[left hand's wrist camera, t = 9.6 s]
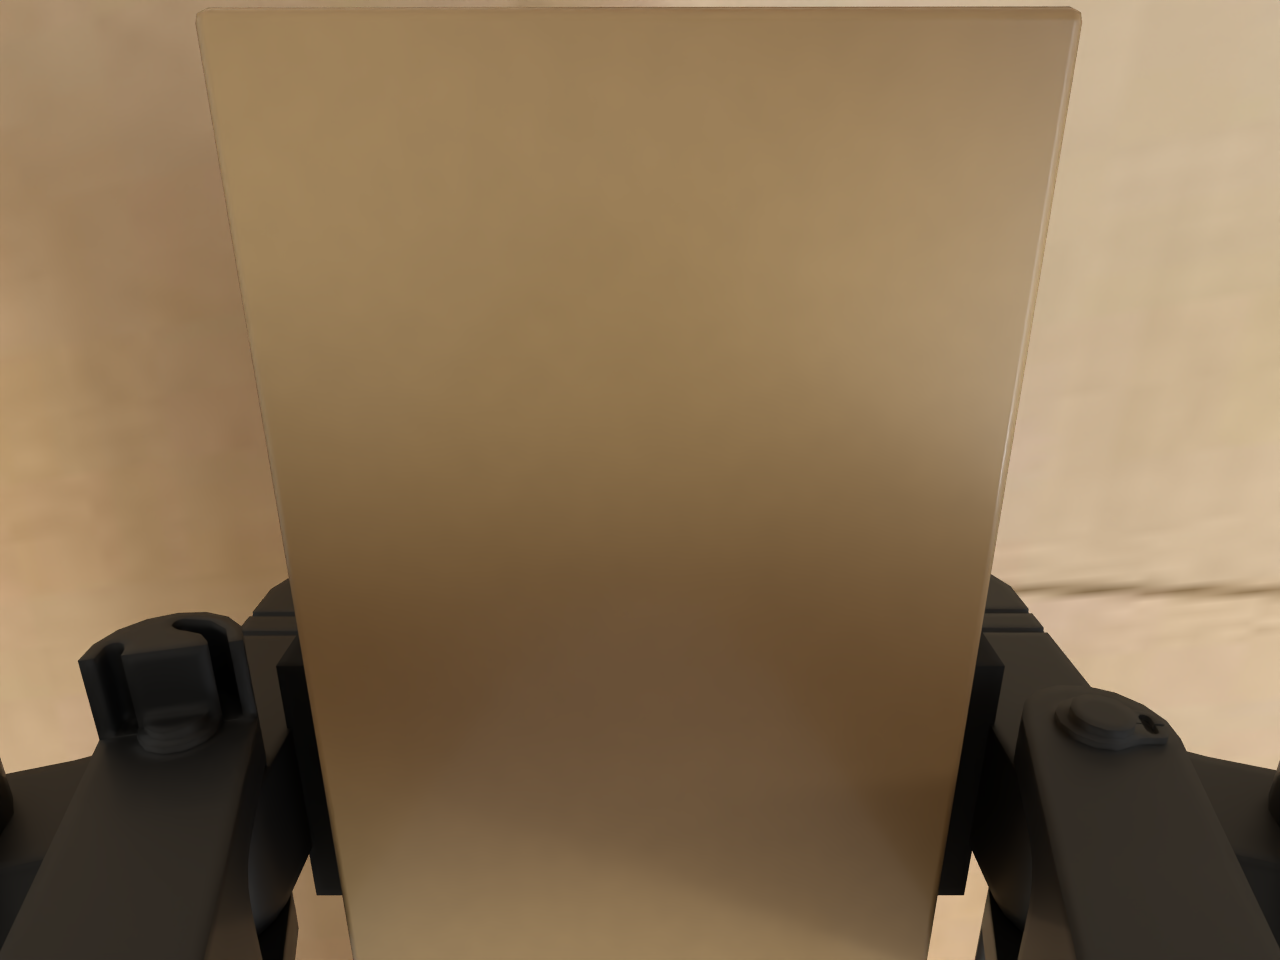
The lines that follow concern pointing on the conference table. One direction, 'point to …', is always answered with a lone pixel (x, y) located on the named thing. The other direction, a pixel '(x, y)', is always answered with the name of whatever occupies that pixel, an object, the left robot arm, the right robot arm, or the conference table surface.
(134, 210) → the conference table surface
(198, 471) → the conference table surface
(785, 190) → the post
